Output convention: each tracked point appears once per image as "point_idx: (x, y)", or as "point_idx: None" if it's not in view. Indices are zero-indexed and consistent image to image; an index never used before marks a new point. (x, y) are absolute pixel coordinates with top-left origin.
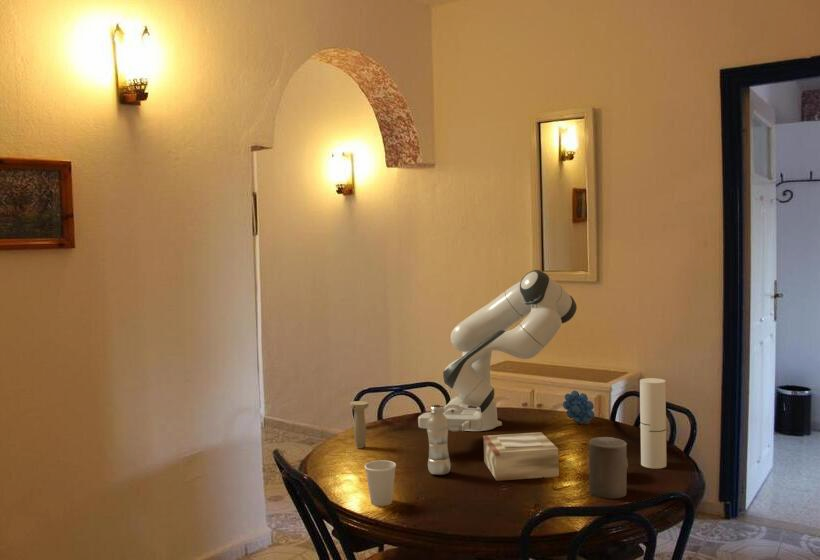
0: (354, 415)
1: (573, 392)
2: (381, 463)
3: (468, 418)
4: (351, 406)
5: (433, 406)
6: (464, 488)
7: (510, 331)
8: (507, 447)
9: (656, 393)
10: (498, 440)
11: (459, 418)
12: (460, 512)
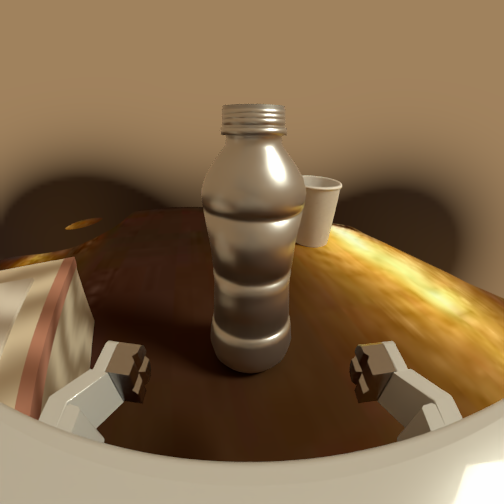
0: None
1: None
2: (325, 191)
3: (30, 423)
4: None
5: (277, 111)
6: (173, 286)
7: None
8: (28, 279)
9: None
10: (7, 343)
11: (114, 449)
12: (184, 230)
